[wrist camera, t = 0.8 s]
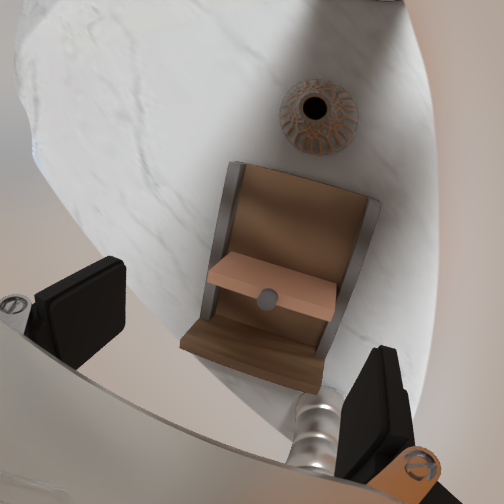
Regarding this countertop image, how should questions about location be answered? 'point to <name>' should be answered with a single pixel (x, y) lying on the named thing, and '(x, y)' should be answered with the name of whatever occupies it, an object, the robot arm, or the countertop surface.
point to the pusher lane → (288, 256)
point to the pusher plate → (275, 285)
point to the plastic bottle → (317, 431)
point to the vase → (318, 117)
